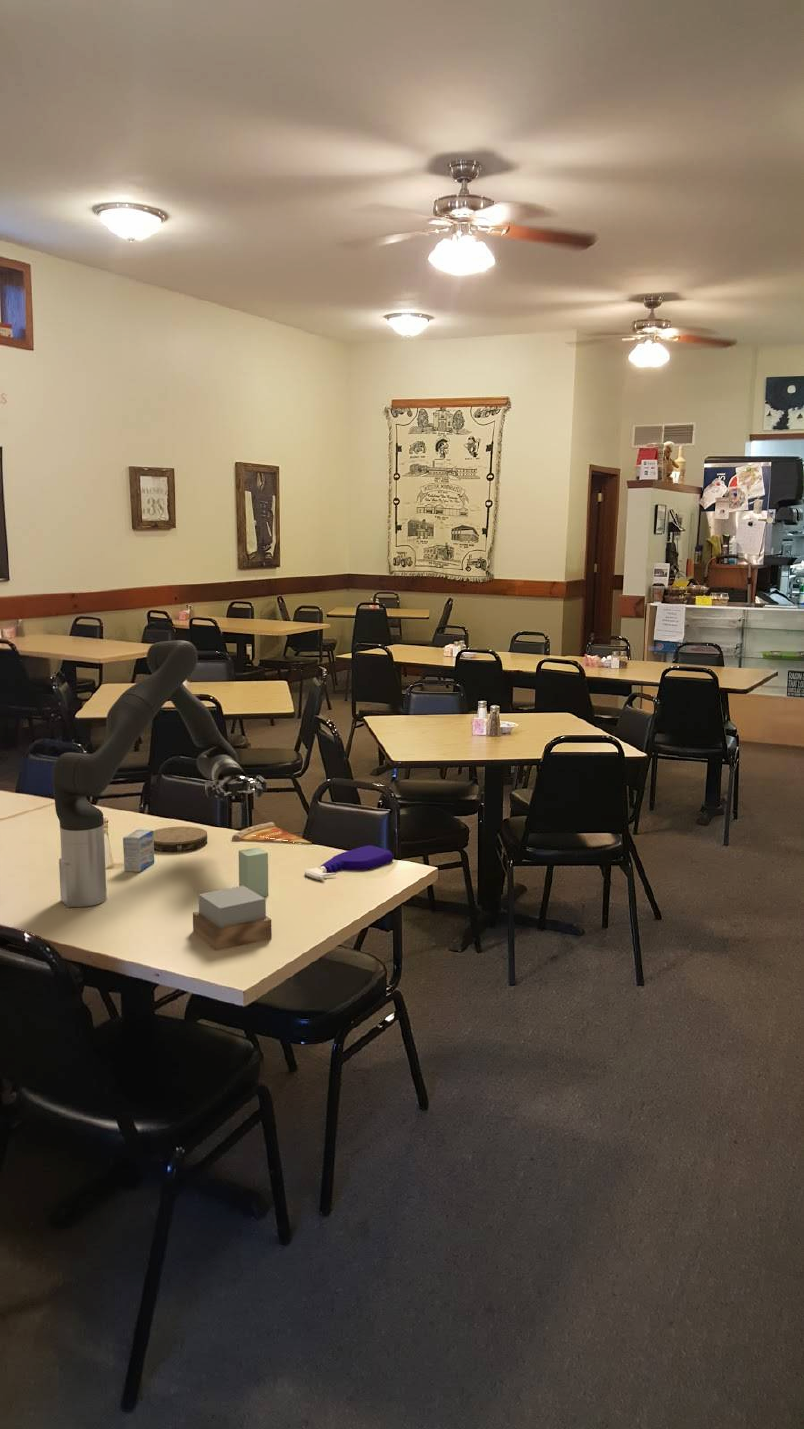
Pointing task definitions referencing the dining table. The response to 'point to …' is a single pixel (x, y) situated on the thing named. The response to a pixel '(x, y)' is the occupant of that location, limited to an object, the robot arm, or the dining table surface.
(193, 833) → the brown round disc
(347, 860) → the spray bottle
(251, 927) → the walnut base block
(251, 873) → the sage pillar block
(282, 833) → the pizza slice
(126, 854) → the medicine box
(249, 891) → the slate grey block
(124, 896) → the dining table surface
